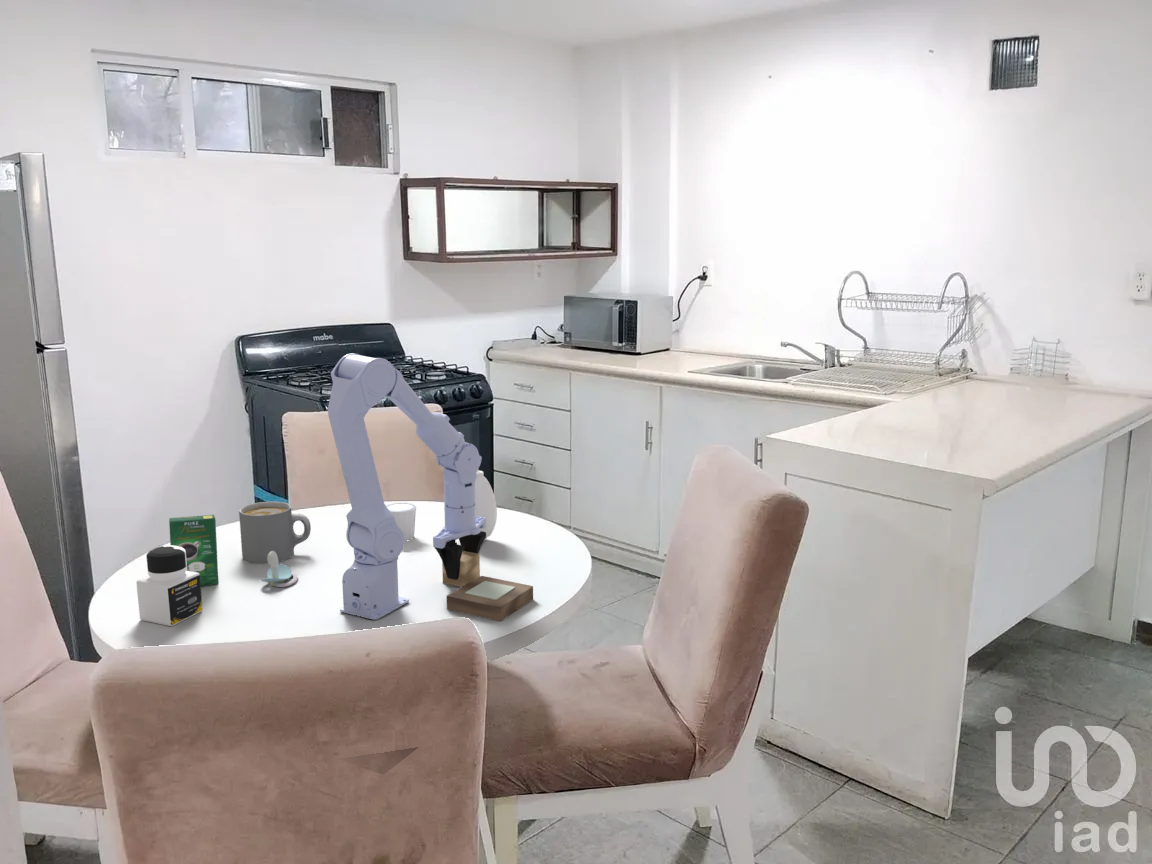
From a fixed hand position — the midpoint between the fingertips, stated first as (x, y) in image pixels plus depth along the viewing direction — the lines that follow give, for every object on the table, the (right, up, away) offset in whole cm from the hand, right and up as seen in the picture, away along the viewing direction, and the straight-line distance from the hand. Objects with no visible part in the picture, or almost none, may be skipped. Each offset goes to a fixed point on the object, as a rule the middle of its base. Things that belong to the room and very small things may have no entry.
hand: (461, 573), depth 171 cm
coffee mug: (-39, +1, +13) cm, 41 cm away
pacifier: (-34, -2, -1) cm, 34 cm away
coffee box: (-49, -2, -3) cm, 49 cm away
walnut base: (+7, -4, -11) cm, 13 cm away
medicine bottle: (-47, -5, -17) cm, 50 cm away
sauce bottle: (+1, +3, +23) cm, 23 cm away
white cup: (-16, +4, +25) cm, 30 cm away
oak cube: (0, -1, 0) cm, 1 cm away
